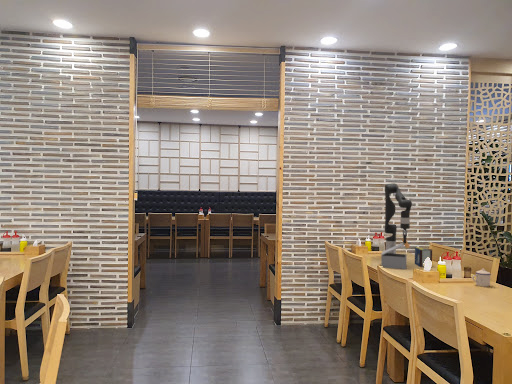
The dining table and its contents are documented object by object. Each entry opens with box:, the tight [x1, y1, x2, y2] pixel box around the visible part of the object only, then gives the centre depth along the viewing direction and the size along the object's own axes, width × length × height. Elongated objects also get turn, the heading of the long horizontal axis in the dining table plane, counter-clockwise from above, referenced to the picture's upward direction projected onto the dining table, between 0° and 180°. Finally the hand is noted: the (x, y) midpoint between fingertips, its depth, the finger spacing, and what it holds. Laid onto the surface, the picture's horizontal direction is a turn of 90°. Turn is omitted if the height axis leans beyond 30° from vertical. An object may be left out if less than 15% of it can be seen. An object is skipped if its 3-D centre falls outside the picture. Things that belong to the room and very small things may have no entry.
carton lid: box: [380, 238, 411, 256], centre depth 346 cm, size 18×24×8 cm
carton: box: [380, 253, 408, 270], centre depth 346 cm, size 18×20×10 cm
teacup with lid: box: [471, 268, 491, 288], centre depth 282 cm, size 12×9×12 cm
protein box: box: [414, 246, 433, 268], centre depth 353 cm, size 10×15×16 cm
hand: (404, 243), depth 343 cm, fingers closed
